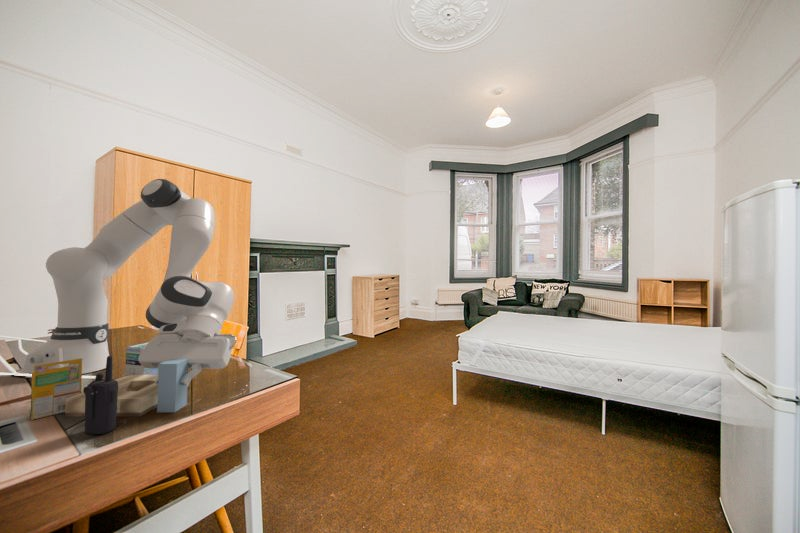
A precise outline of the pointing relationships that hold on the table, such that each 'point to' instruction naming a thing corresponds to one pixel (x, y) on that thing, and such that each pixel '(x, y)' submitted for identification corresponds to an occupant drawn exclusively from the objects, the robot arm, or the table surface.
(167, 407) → the post
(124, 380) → the pocket block
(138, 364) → the light bulb box
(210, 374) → the table surface
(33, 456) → the table surface
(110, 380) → the two-way radio
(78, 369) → the crayon box
